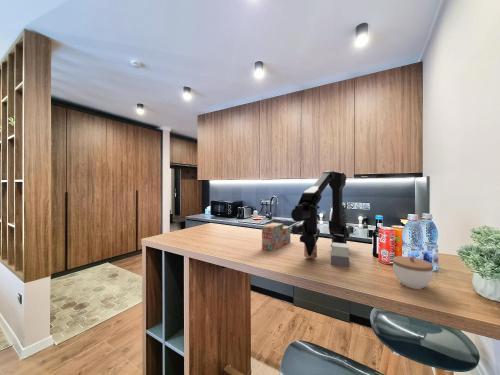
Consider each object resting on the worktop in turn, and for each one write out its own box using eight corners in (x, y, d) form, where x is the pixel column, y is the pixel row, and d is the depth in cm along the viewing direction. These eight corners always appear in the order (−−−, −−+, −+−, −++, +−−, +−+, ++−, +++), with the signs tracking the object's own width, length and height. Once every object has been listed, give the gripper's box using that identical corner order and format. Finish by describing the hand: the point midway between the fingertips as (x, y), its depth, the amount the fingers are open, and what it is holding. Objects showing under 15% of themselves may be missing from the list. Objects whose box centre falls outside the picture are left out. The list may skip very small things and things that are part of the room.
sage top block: (332, 251, 94) (332, 242, 94) (347, 253, 91) (347, 243, 91) (332, 255, 88) (332, 245, 88) (347, 257, 86) (347, 247, 86)
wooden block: (313, 253, 98) (313, 243, 98) (319, 257, 93) (319, 246, 93) (302, 254, 97) (302, 243, 97) (307, 258, 92) (307, 247, 92)
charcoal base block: (331, 259, 95) (331, 250, 95) (348, 261, 92) (348, 252, 92) (330, 264, 88) (330, 255, 88) (349, 267, 85) (349, 257, 85)
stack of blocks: (281, 240, 127) (281, 220, 127) (290, 242, 123) (290, 221, 123) (261, 249, 109) (261, 225, 109) (272, 251, 106) (272, 227, 106)
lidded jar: (407, 292, 65) (408, 262, 65) (385, 277, 76) (385, 251, 76) (442, 292, 65) (442, 262, 65) (415, 277, 76) (415, 251, 76)
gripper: (297, 215, 106) (297, 246, 107) (287, 221, 90) (287, 257, 90) (320, 216, 102) (320, 248, 102) (314, 223, 85) (314, 261, 85)
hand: (310, 253), depth 95 cm, fingers closed on wooden block, 5 cm apart
